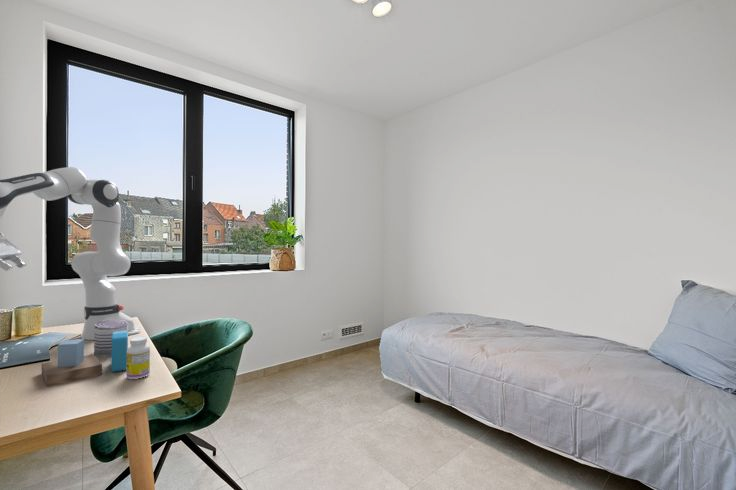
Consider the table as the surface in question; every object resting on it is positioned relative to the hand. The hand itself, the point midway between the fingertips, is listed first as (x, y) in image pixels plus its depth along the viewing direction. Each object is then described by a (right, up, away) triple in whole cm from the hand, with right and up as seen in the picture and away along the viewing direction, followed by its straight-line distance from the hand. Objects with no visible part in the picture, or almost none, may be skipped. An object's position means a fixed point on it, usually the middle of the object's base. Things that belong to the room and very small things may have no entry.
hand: (16, 267), depth 120 cm
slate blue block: (+19, -32, -1) cm, 38 cm away
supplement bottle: (+42, -37, -1) cm, 56 cm away
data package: (+31, -36, +7) cm, 48 cm away
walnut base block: (+20, -37, -1) cm, 42 cm away
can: (+16, -36, +22) cm, 45 cm away
